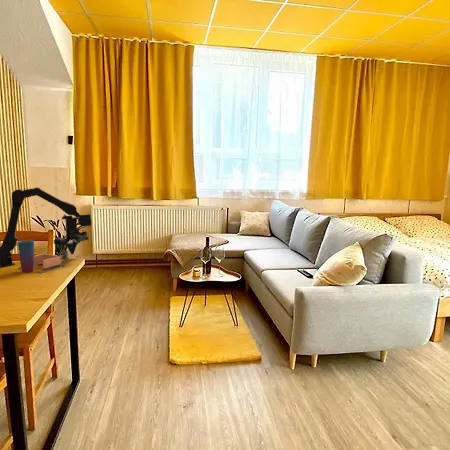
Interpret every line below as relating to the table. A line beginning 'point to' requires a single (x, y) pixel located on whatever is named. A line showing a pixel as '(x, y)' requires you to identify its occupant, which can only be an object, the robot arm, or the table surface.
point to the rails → (48, 269)
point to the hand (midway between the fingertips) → (72, 254)
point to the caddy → (51, 259)
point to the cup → (26, 255)
